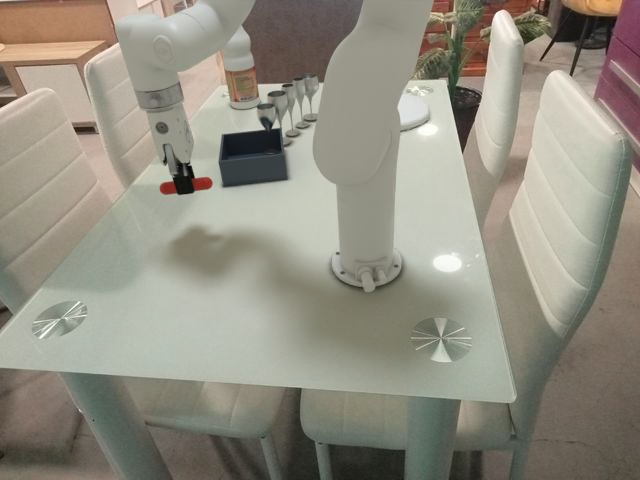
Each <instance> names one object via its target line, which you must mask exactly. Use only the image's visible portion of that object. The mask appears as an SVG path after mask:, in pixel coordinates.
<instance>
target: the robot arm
mask: <svg viewBox="0 0 640 480" xmlns="http://www.w3.org/2000/svg"><path fill="white" fill-rule="evenodd" d="M256 1H257V0H197V1H196V2H195V4H194V5H193V6H190V7H187V8H185V9H182V10H181V11H180V10H179V11H178V12H175V13H173V14H172V15H168V16H166V17H163V18H162V17H161V16H160V15H159V14H157V13H153V12H140V13H134V14H129V15H126V16H125V15H124V16H122V17H120V18H119V19H117V21H116V22H115V25H114V31H115V35H116V38H117V41H118V44H119V48H120V51H121V54H122V57H123V60H124V63H125V66H126V69H127V73H128V75H129V79H130V82H131V85H132V88H133V91H134V94H135V98H136V101H137V104H138V107H139V109H140V110H141V111H143V112H146V113H145V114H146V116H147V122H148V125H149V129H150V133H151V137H152V140H153V143H154V146H155V150H156V153H157V156H158V159H159V162H160V163H161V165H162V166H164V167H166V166H167V168H168V172H169V175H170V176H171V178H172V181H173V182H174V185H175V188H176V191H177V194H176V195H178V196H183V195H192V194H195V192H196V191H195V190H194V186H193V183H192V179H194V178H196V176H195V173H194V168H193V166H192V164H191V159H192V155H193V151H194V147H195V139H194V136H193V133H192V129H191V125H190V122H189V118H188V116H187V113H186V110H185V107H184V104H183V103H184V102H185V95H184V93H183V88H182V84H181V81H180V77H179V73H182V72H186V71H189V70H190V69H192V68H194V67H195V66H197V65H199V64H200V63H202V62H203V61H205V60H207V59H208V58H210V57H212V56H214V55H216V54H217V53H218V52H220V51H222V48H223V47H224V46H225V45H226V44H227V43H228V42H229V41H230V39H231V38H232V37H233V35H234V34H235V33H236V31H237V30H238V29H239V27H240V26H241V25H242V26H243V24H244V22H245V21H246V20H247V18H248V16H249V15H250V13H251V12H252V10H253V7H254V5H255V3H256ZM434 2H435V0H362V4H361V8H360V12H359V16H358V19H357V21H356V25H355V26H354V28H353V30H352V31H350V33H349V34H348V35H347V36H346V37H345V38H344V39H343V40H342V41H341V42H340V43H339V44H338V45H337V46H336V48H335V49H334V51H333V53H332V55H331V57H330V59H329V62H328V65H327V68H326V71H325V75H324V80H323V84H322V89H321V95H320V100H319V104H318V105H319V106H318V111H317V114H318V116H317V119H316V122H315V125H314V132H313V138H312V156H313V160H314V163H315V166H316V168H317V169H318V171H319V173H320V174H321V175H322V176H323V178H324V179H326V180H327V181H329V182H330V183H332V184H334V185H335V187H336V204H337V205H336V209H337V224H338V227H337V228H338V244H339V245H338V246H339V247H338V248H337V249H336V250H335V251H334V252H333V254H332V257H331V269H332V272H333V273H334V275H335V276H336V277H337V278H338V279H339V280H340V281H342V282H344V283H346V284H347V285H350V286H354V287H359V288H363V290H364V292H366V293H372V292H373V291H375V289H376V287H380V286H383V285H387V284H388V283H390V282H392V281H393V280H395V279H396V278H397V276H398V275H399V274H400V273H401V270H402V264H403V259H402V255H401V254H400V252H399V251H398V249H397V248H396V247H394V245H395V243H394V242H395V219H396V218H395V216H396V215H395V212H396V191H397V170H398V159H399V158H398V157H399V150H400V141H401V132H402V131H401V120H400V114H399V111H398V108H397V107H398V104H399V101H400V98H401V95H402V94H404V93H403V92H404V91H405V90H406V87H407V85H408V83H409V82H410V80H411V78H412V77H413V75H414V73H415V71H416V67H417V64H418V61H419V57H420V51H421V48H422V43H423V40H424V36H425V33H426V29H427V26H428V23H429V19H430V16H431V13H432V10H433V6H434Z"/></svg>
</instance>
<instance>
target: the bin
mask: <svg viewBox="0 0 640 480" xmlns="http://www.w3.org/2000/svg"><path fill="white" fill-rule="evenodd" d="M282 135H283V127H282V128H280V127H275V128H272V129H271V130H270V132H268V131H267V130H266V129H265V128H264V129H259V130H258V129H257V130H247V131H240V132H238V131H237V132H229V133H222V134H221V137H220V138H221V139H220V146H219V153H218V162H217V163H218V168H219V172H220V176H221V181H222V185H223V187H230V186H231V187H232V186H239V185H240V186H241V185H248V184H249V185H250V184H257V183H266V182H275V181H283V180H288V171H287V162H286V154H285V145H284V144H283V137H284V136H282ZM271 149H275V150H280V151H279V152H277V153H274V154H266V153H264V151H267V150H271Z"/></svg>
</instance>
